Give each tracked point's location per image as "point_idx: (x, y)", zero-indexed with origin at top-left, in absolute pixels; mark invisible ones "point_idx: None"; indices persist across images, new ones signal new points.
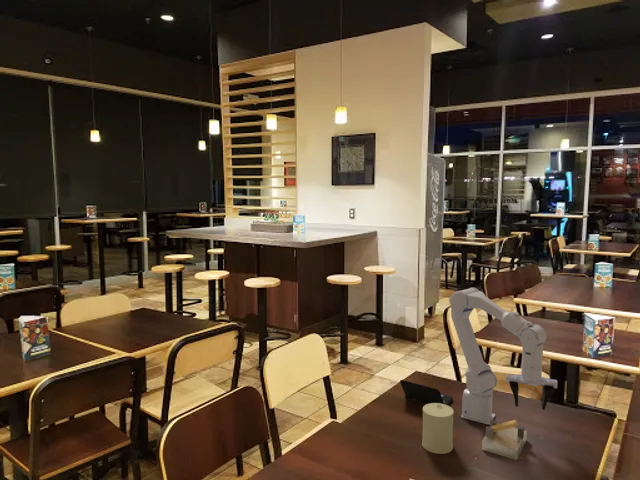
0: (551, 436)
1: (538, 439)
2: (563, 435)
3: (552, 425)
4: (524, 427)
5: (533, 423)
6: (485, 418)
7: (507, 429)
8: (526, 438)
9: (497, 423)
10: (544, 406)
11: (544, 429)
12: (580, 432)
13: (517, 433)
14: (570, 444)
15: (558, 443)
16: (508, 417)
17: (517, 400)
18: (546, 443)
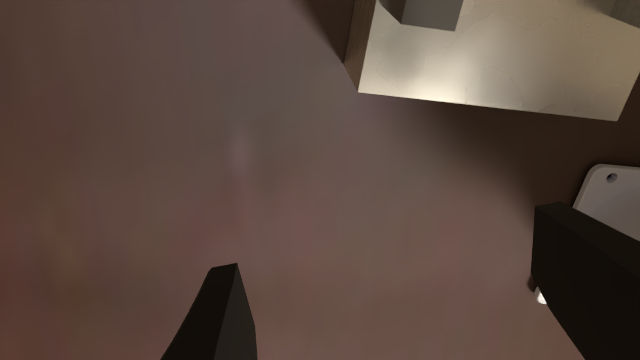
0: (175, 199)
1: (258, 116)
2: (101, 246)
3: None
4: (401, 20)
5: (301, 307)
6: (628, 203)
7: (520, 43)
8: (346, 68)
9: (588, 114)
10: (210, 293)
11: None
12: (7, 328)
13: None
14: (29, 146)
15: (113, 122)
16: (451, 309)
17: (600, 245)
18: (196, 81)
